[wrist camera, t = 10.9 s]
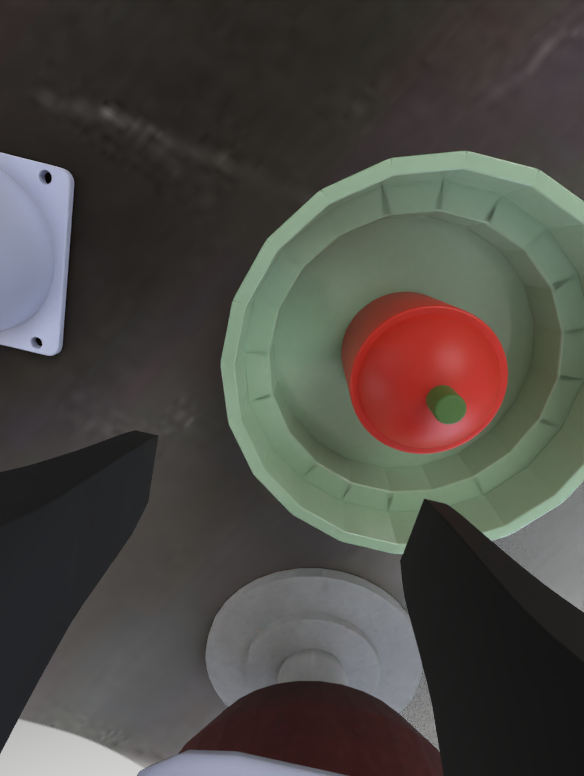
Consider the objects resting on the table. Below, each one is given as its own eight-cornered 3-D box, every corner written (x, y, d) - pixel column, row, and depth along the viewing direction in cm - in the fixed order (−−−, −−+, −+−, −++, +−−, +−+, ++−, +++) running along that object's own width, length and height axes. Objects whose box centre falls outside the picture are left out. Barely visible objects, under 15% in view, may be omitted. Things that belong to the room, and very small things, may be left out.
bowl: (219, 450, 22) (192, 507, 17) (282, 140, 17) (270, 99, 13) (490, 514, 22) (539, 588, 17) (618, 226, 18) (730, 217, 13)
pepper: (328, 392, 20) (335, 470, 13) (359, 278, 18) (388, 295, 11) (438, 419, 20) (505, 510, 13) (479, 307, 18) (581, 343, 11)
